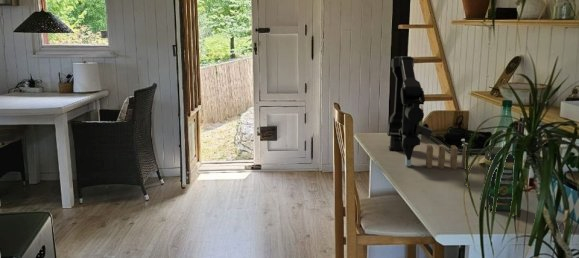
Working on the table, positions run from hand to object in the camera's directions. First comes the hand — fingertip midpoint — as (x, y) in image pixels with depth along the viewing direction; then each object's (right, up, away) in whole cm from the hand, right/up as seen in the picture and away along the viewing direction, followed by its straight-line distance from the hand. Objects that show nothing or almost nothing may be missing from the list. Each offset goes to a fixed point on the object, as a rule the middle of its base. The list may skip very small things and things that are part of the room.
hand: (407, 158), depth 209 cm
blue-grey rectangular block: (0, -3, 0) cm, 3 cm away
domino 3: (+12, -3, -1) cm, 13 cm away
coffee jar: (+17, -13, -45) cm, 49 cm away
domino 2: (+8, -3, 0) cm, 9 cm away
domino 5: (+21, -4, -2) cm, 22 cm away
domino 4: (+17, -4, -1) cm, 17 cm away
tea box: (+13, +7, +52) cm, 55 cm away
